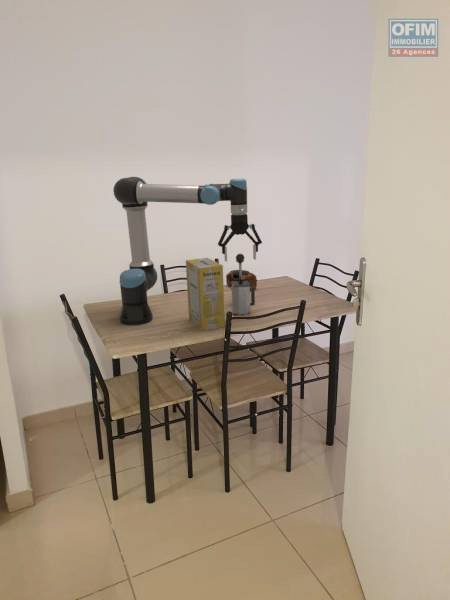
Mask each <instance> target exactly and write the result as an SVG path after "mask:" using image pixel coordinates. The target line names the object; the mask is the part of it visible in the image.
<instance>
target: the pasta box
mask: <svg viewBox="0 0 450 600" xmlns="http://www.w3.org/2000/svg"><path fill="white" fill-rule="evenodd" d="M185 271H186V287H187V290H186V291H187V304H188V305H187V307H188V320H190V321H191V322H192V323H193V324H195V325H196V326H197V327H198V328H199V329H200V330H201V331H203V332H204V331H209V330H214V329H219V328H225V327H226V322H225V319H226V317H225V293H224V291H225V290H224V265H223V264H221V263H219V262H217V261H215V260H213V259H212V258H211V259H210V258H208V257H203V258H201V257H200V258H194V259H186V260H185Z"/></svg>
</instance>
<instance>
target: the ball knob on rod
mask: <svg viewBox="0 0 450 600" xmlns="http://www.w3.org/2000/svg"><path fill="white" fill-rule="evenodd" d="M236 260H237V261H238V262H237V263H238V270H239V284H241V283H242V270H243V267H242V265H243V261H244V262H245V256H244V254H243V253H238V254H236V256H235V261H236Z"/></svg>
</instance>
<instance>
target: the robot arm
mask: <svg viewBox="0 0 450 600" xmlns="http://www.w3.org/2000/svg"><path fill="white" fill-rule="evenodd" d="M247 184H248V183H247V180H246V179H245V178H231V179H230V180H229V183H209V184H208V183H207V184H204V185H197V184H196V185H195V184H192V185H191V184H167V183H164V184H163V183H162V184H160V183H159V184H157V183H147V182H146V180H144V179H143V178H141V177H137V176H129V177H123V178H120V179H118V180H117V181H116V182H115V184H114V186H113V195H114V198H115V200H117V202H118V203H121V205H122V209H124V210H125V211H126V220H127V228H128V229H127V230H128V237H129V245H130V254H131V262H130V263H129V265H128V267H129V269H127V270H123V271H122V272H120V274H119V285H120V294H121V295H120V297H121V304H122V305H121V310H120V314H119V321H120V323H121V324H122V323H123V324H122V325H128V326H138V325H144V324H147V323H149V322H152V321H153V313H152V310H151V307H150V306H149V303H148V293H147V292H148V291H150V290H151V289H152V288H153V287H154V286H155V285H156V283H157V281H158V272H157V270H156V268H155V266H154V264H155V263H154V262H153V261H152V260H151V258H150V257H151V256H150V247H149V239H148V238H149V237H148V229H147V218H146V209H147V207H148V206H149V204H148V203H176V204H178V203H180V204H204V205H209V206H211V205H215V204H217V203H218V202H226V201H227V202H229V201H230V213H231V215H230V225H227V224H225V225H224V226H223V232H222V234H221V236H220V238H219V240H218V242H217V245H218V246H219V247H221V253H222V255H224V261H225V262H228V248H227V244H228V243H229V242H230V241H231V240H232V238H233V237H234V236H235V235H236V236H238V235H241V236H242V235H244V234H245V235H246V236H247V237H248V238H249V239H250V240H251V242H252V243H254V244H252V245H253V246H252V254H253V259H254V260H257V253H258V252H259V245H261V244H262V243H263V241H262V239H261V237H260V236H259V234H258V232H257V230H256V226H255V224H254V223H251V224H249V223H248V214H247V213H248V187H247V186H248V185H247ZM249 229H250V230H251V231H252V233H253V234H254V237H255V238H254V237H253V236H252V235H251V234H250V233H249V232H248V230H249ZM229 230H231V232H230V233H229V234H228V233H227V232H228V231H229ZM227 234H228V235H227ZM226 235H227V236H226ZM225 237H226V239H225Z"/></svg>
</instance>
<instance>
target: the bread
mask: <svg viewBox="0 0 450 600" xmlns="http://www.w3.org/2000/svg"><path fill="white" fill-rule="evenodd" d="M236 270H237V269H233V270H230V271H229V272H228V273H227V274H226V275H225V277H226V278H225V281H226V285H228V286H227V287H229V286H230V287H229V288H231V287H232V281H233V280H235V279H237V280H239V277H238V278H233V277H232V273H231V272H232V271H236ZM242 279H244V280H248V281H249V284H250V287H254V288H255V290H256V289H257V284H258V283H257V281H258V279H257V276H256V274H254V273H252V272H250V271H249V273H248V276H247V275H242ZM250 292H251V290H250Z"/></svg>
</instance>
